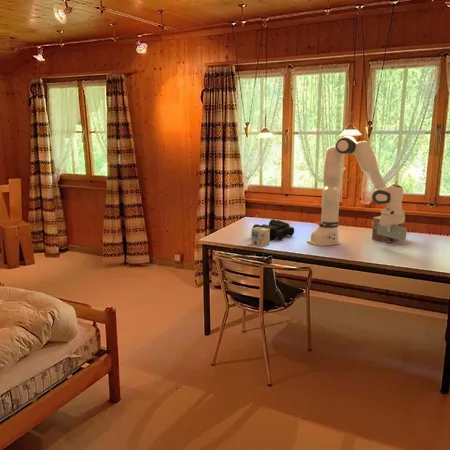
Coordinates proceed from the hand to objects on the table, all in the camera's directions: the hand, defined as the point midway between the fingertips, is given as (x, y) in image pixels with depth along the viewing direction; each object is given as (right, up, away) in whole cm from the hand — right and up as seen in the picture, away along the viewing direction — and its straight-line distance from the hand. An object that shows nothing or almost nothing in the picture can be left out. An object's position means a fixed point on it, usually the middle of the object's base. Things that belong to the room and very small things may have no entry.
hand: (391, 231), depth 282 cm
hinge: (+9, -1, +48) cm, 48 cm away
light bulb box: (-83, -9, +14) cm, 84 cm away
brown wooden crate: (+8, -6, +25) cm, 27 cm away
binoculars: (-71, -4, +34) cm, 78 cm away
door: (0, -4, +1) cm, 4 cm away
